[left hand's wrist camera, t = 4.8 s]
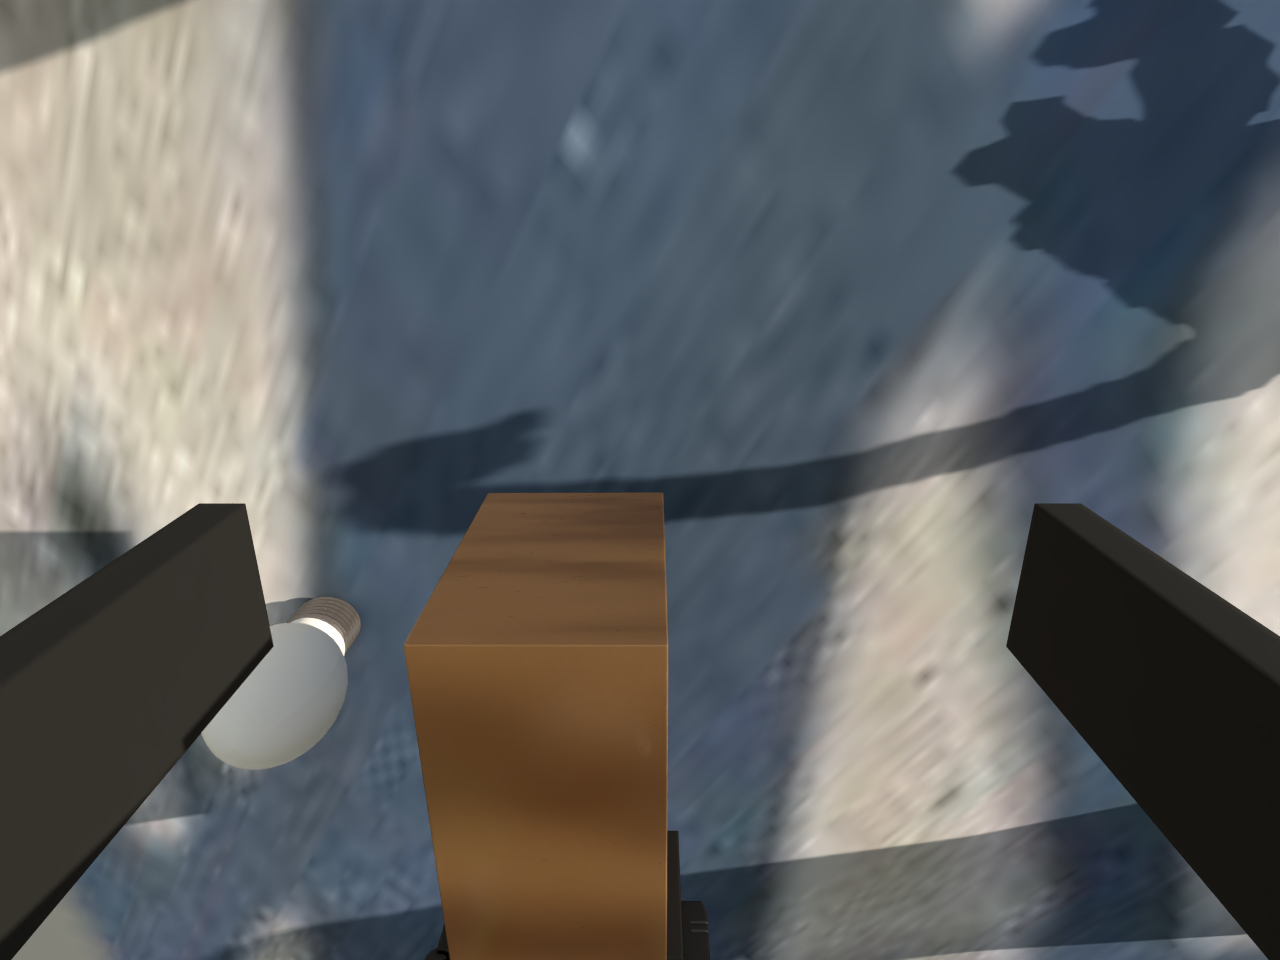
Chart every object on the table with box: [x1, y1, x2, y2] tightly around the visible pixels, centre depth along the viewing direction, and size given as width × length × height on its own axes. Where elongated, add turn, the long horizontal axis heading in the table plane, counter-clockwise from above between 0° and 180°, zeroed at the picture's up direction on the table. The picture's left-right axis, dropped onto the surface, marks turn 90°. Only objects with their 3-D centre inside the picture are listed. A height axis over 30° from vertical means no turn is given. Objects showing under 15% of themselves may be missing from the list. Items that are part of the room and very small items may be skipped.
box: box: [404, 493, 668, 960], centre depth 31 cm, size 22×8×12 cm, turn 1°
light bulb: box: [201, 597, 361, 769], centre depth 40 cm, size 7×7×11 cm
